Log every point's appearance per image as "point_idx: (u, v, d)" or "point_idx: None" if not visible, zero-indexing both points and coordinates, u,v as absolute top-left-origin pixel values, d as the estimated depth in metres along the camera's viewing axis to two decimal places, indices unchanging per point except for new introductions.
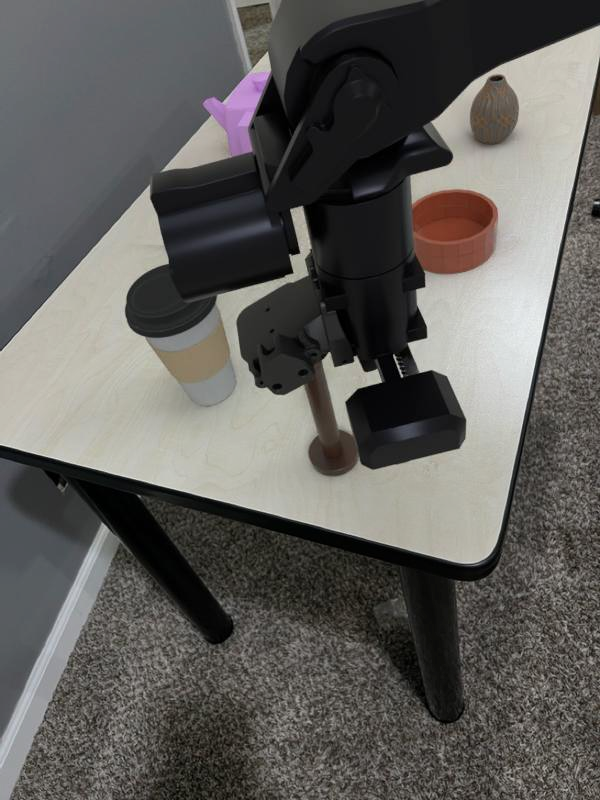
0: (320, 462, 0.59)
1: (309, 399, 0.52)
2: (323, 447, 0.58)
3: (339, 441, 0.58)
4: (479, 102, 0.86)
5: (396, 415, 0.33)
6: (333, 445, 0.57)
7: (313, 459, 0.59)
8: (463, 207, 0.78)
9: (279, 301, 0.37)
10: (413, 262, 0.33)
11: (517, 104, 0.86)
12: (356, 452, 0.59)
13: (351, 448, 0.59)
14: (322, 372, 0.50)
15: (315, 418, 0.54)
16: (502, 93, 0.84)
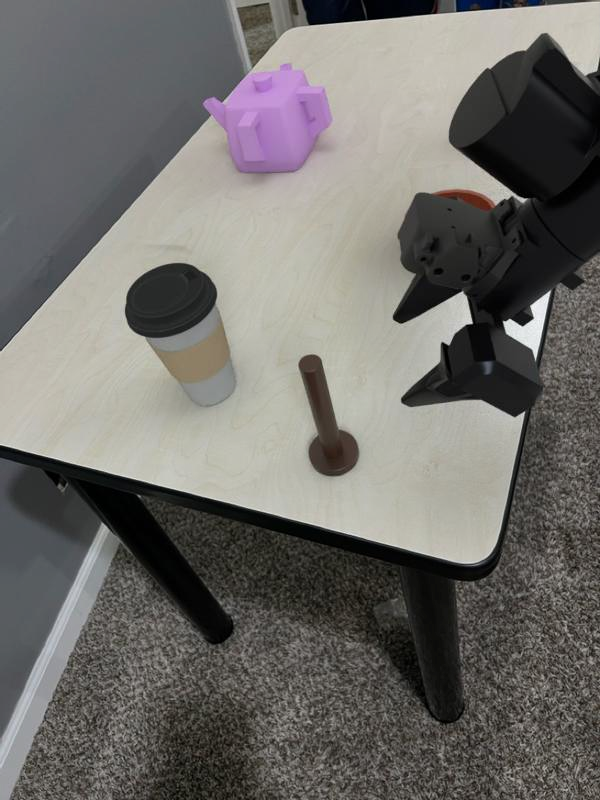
0: (320, 462, 0.59)
1: (309, 399, 0.52)
2: (323, 447, 0.58)
3: (339, 441, 0.58)
4: None
5: (511, 361, 0.37)
6: (333, 445, 0.57)
7: (313, 459, 0.59)
8: None
9: (461, 211, 0.39)
10: None
11: None
12: (356, 452, 0.59)
13: (351, 448, 0.59)
14: (322, 372, 0.50)
15: (315, 418, 0.54)
16: None
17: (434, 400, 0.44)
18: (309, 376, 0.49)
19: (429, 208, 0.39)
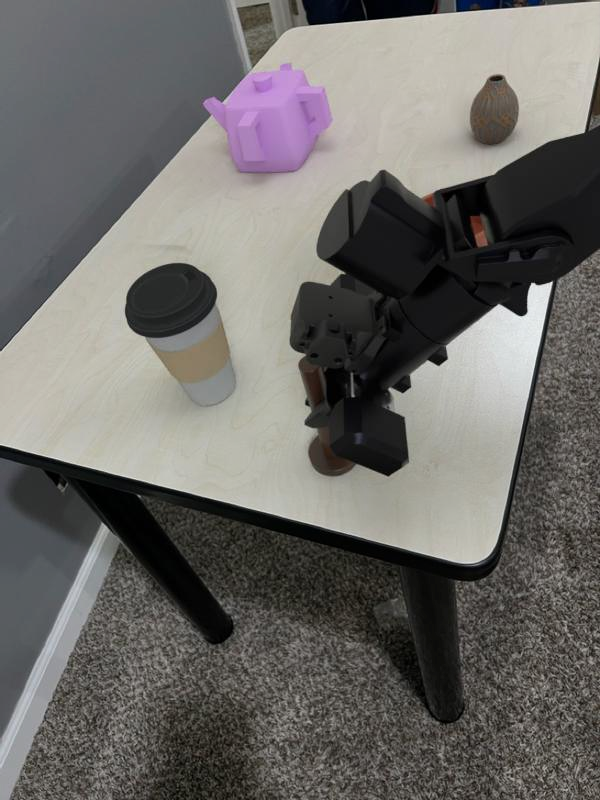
0: (320, 462, 0.59)
1: (309, 399, 0.52)
2: (323, 447, 0.58)
3: None
4: (479, 102, 0.86)
5: (378, 431, 0.43)
6: None
7: (313, 459, 0.59)
8: None
9: (341, 298, 0.45)
10: (444, 346, 0.46)
11: (517, 104, 0.86)
12: None
13: None
14: (322, 372, 0.50)
15: None
16: (502, 93, 0.84)
17: None
18: (309, 376, 0.49)
19: (311, 297, 0.45)
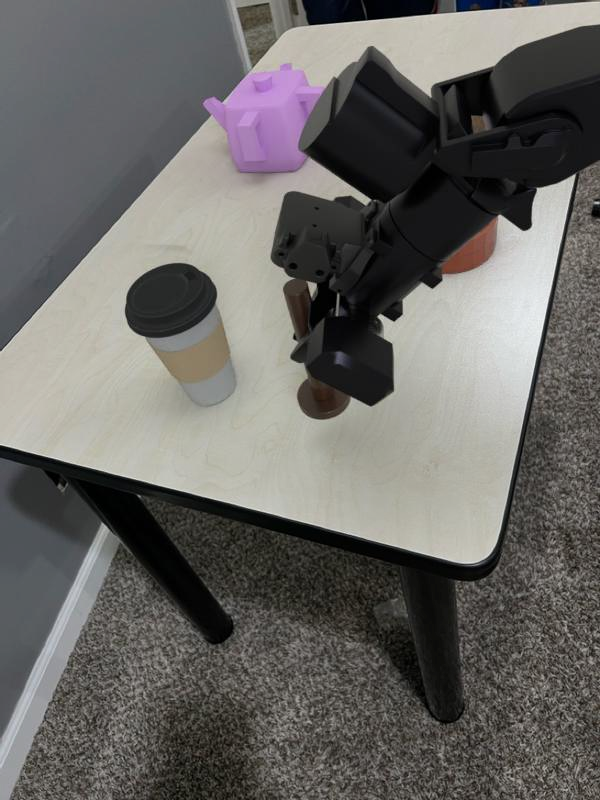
0: (308, 404, 0.55)
1: (295, 329, 0.49)
2: (312, 388, 0.54)
3: None
4: None
5: (360, 353, 0.40)
6: (322, 386, 0.54)
7: (301, 401, 0.56)
8: None
9: (329, 210, 0.42)
10: (439, 267, 0.42)
11: None
12: (347, 395, 0.55)
13: None
14: (308, 297, 0.46)
15: None
16: None
17: None
18: (294, 300, 0.46)
19: (295, 206, 0.41)
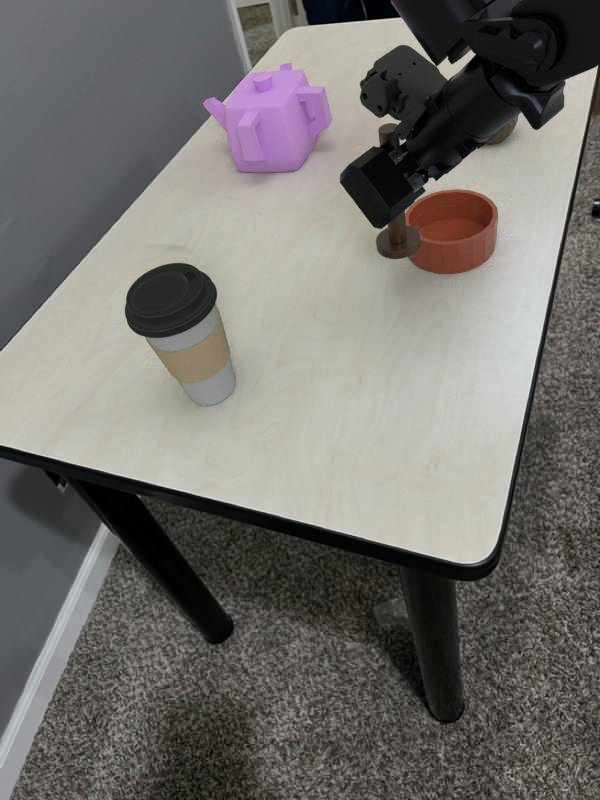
0: (381, 241, 0.68)
1: None
2: (388, 228, 0.67)
3: (400, 228, 0.66)
4: None
5: (376, 178, 0.52)
6: (393, 228, 0.66)
7: (379, 237, 0.69)
8: (463, 207, 0.78)
9: (422, 69, 0.52)
10: (475, 143, 0.50)
11: None
12: (410, 247, 0.66)
13: (410, 243, 0.67)
14: (393, 141, 0.58)
15: None
16: None
17: None
18: (381, 137, 0.58)
19: (398, 56, 0.53)
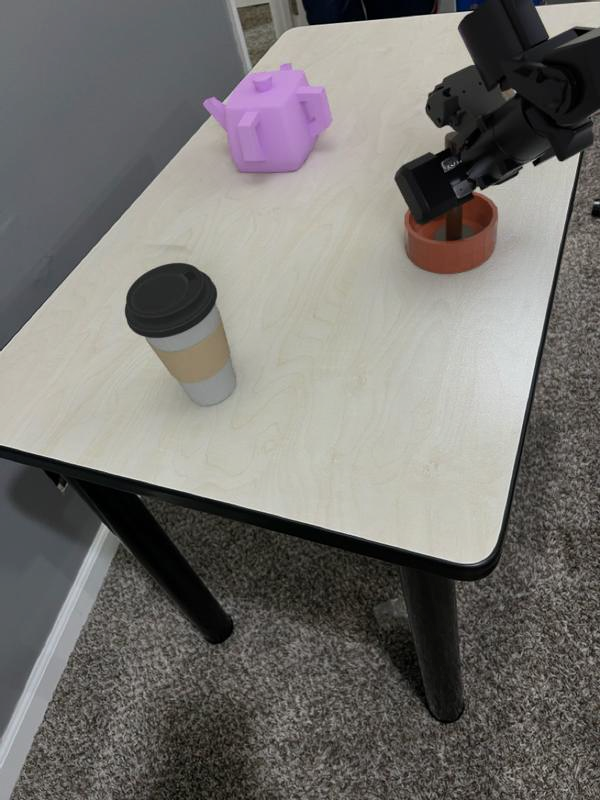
0: (438, 235, 0.75)
1: None
2: None
3: (456, 227, 0.73)
4: None
5: (423, 181, 0.60)
6: (449, 225, 0.73)
7: (437, 231, 0.76)
8: (463, 207, 0.78)
9: (486, 89, 0.59)
10: (515, 164, 0.57)
11: None
12: None
13: None
14: None
15: None
16: (502, 93, 0.84)
17: None
18: (446, 143, 0.65)
19: (467, 75, 0.59)
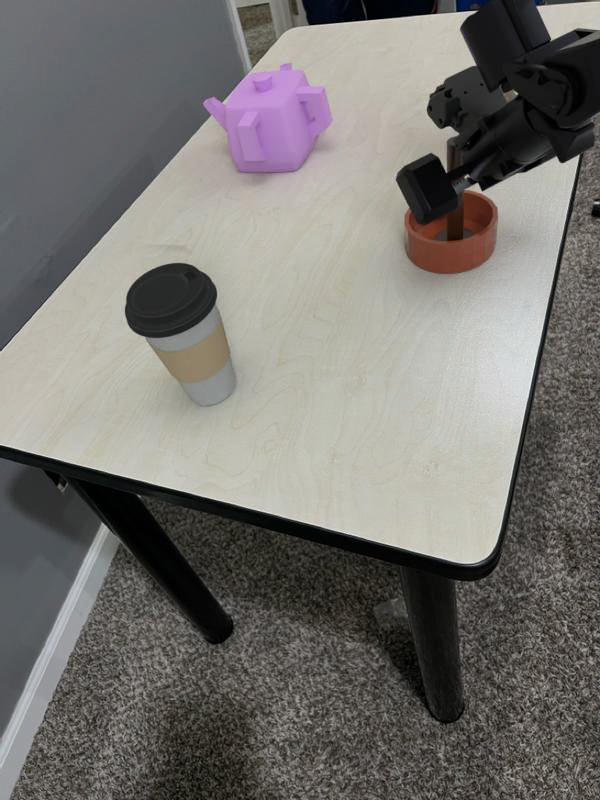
0: (439, 238, 0.76)
1: None
2: (447, 228, 0.74)
3: (457, 230, 0.73)
4: None
5: (424, 182, 0.60)
6: (450, 229, 0.73)
7: (439, 235, 0.76)
8: None
9: (487, 90, 0.59)
10: (516, 165, 0.57)
11: None
12: None
13: None
14: (458, 153, 0.65)
15: None
16: None
17: None
18: (447, 148, 0.66)
19: (469, 76, 0.59)
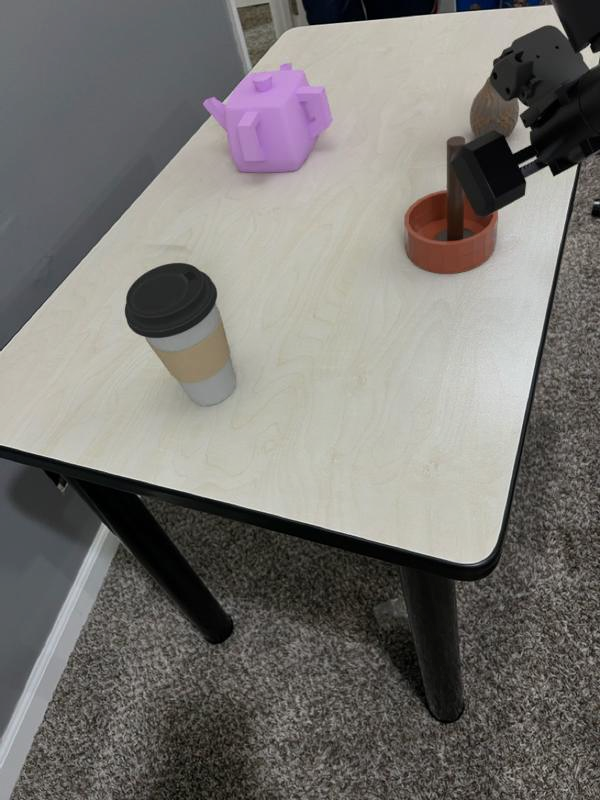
0: (439, 238, 0.76)
1: None
2: (447, 228, 0.74)
3: (457, 230, 0.73)
4: (479, 102, 0.86)
5: (487, 164, 0.50)
6: (450, 229, 0.73)
7: (439, 235, 0.76)
8: None
9: (564, 54, 0.49)
10: None
11: (517, 104, 0.86)
12: None
13: None
14: None
15: None
16: None
17: None
18: (447, 148, 0.66)
19: (541, 37, 0.49)
